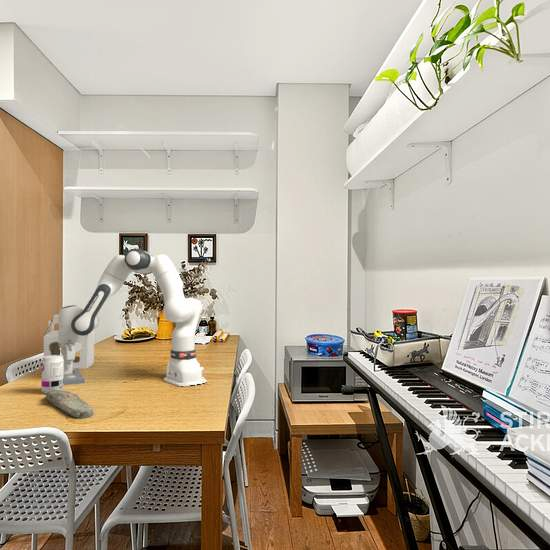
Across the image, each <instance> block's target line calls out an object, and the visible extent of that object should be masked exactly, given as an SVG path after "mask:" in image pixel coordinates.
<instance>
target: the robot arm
mask: <svg viewBox="0 0 550 550" xmlns="http://www.w3.org/2000/svg"><path fill="white" fill-rule="evenodd" d="M132 273H135V274H141V275H149V274H153V276H154V278H155V281H156V283H157V285H158V288H159V289H160V291H161V293H162V297H163V302H164V306H163V309H162V313H163V317H164V318H165V320H167V321H168V322H172V323H175V324H176V325H175V328H174V329H173V331H172V333H171V349H170V353H169V354H170V359H169V361H168V362H167V364H166V365H167V367H166V377H164V378H163V382H167V383H169V384H172V385H174V386H177V387H181V386H183V387H191V386H190V385H195V386H198V385H197V384H201V385H203V384H202V383H205V382H207V383H208V381H207V380H208V379H206V378H205V377H204V376H203V372H204V367H203V366H201V364H200V362H199V361H198V359H197V352H196V348H195V346H196V345H195V343H196V331H197V326H198V322H199V318H200V317H201V315H202V313H203V310H204V309H203V307H204V306H203V304H202V302H201V301H200V300H199V299H196V298H193V297H185V294H184V289H183V288H184V282H183V280H182V278H181V276H180V274H179V272H178V270H177V268H176V267H175V265H174V263H173V261H172V260H171V258H169V257H168V255H166V254H162V253H161V254H157V255H155V256H153V255H152V254H150V253H149V252H148V251H145V250H143V249H141V248H131V249H129V250H128V251H126V253H125V254H124V255H123V254H118V255H115V256H114V257H113V258H112V260H111V261H110V262H109V263H108V264H107V266H106V267H105V269H104V271H103V272H102V274H101V276H100V278H99V280H98V282H97V286H96V288H95V290H94V293H93V294H92V296H91V298H90V299H89V300H88V302H87V304H86V305H85V307H84V309H82V308H81V307H79V306H78V305H75V304H73V305H66V306H63V307H61V308H60V309H59V312H58V315H59V318H58V323H57V324H58V325H57V326H58V330H59V331H58V344H59V347H60V355H61V356H62V358H63V357H64V358H65V359H66V368H71V361H74V360H75V356H76V354H75V353H76V349H75V346H76V343H79V342H78V335H80V336H85V335H88V334H89V333H91V331H95V329H97V328H98V326H99V324H100V317H99V315H98V314H99V312H100V311H101V309H102V307H103V306H104V304H105V303H106V302H107V300H108V299H110V298H111V297H112V296H114V295H115V294H117V293H118V291H120V289H121V288H122V286H124V284H125V282H126V281H127V279H128V277H129V276H130V274H132ZM205 384H206V383H205Z"/></svg>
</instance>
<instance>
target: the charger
mask: <svg viewBox="0 0 550 550" xmlns="http://www.w3.org/2000/svg"><path fill="white" fill-rule="evenodd" d="M62 358H63V359H64V370H63V374H71V373H73V361H71V368H66V359H65V358H64V357H63V356H62Z"/></svg>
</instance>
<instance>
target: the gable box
mask: <svg viewBox="0 0 550 550" xmlns="http://www.w3.org/2000/svg"><path fill="white" fill-rule="evenodd" d="M58 318H59V314H54V315H53V318H52V320H48V327H47V329H46V331H45V333H44V335H43V358H44V357H45V356H50V355H61V346H60V344H59V343H58V331H59V329H55V325H56V324H58ZM77 343H79V344H81V346H82V347H81V349H80V352H79V356H76V355H75V360H74V361H73V369H77V370H79V369H80V370H83V369H88V368H90V367H91V366H92V365H93V364H94V363H95V330H93V331H91V333H89V334H88V335H85V336H80V335H78V342H77Z"/></svg>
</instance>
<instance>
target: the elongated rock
mask: <svg viewBox="0 0 550 550" xmlns="http://www.w3.org/2000/svg"><path fill="white" fill-rule="evenodd" d="M45 399H46V400H48V402H49V403H51V406H55V407H56V408H58V409H60V410H61V411H63V412H65V413H66V414H67V415H69V416H70V417H73V418H76V419H89V418H91V417H93V416H94V407H93V406H92V405H90V404H89V403H88V402H86V401H85V400H83V399H82V398H80V396H79V395H78V394H75V393H74V392H72V391H66V390H53V391H49V392H48V393H46V394H45Z"/></svg>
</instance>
